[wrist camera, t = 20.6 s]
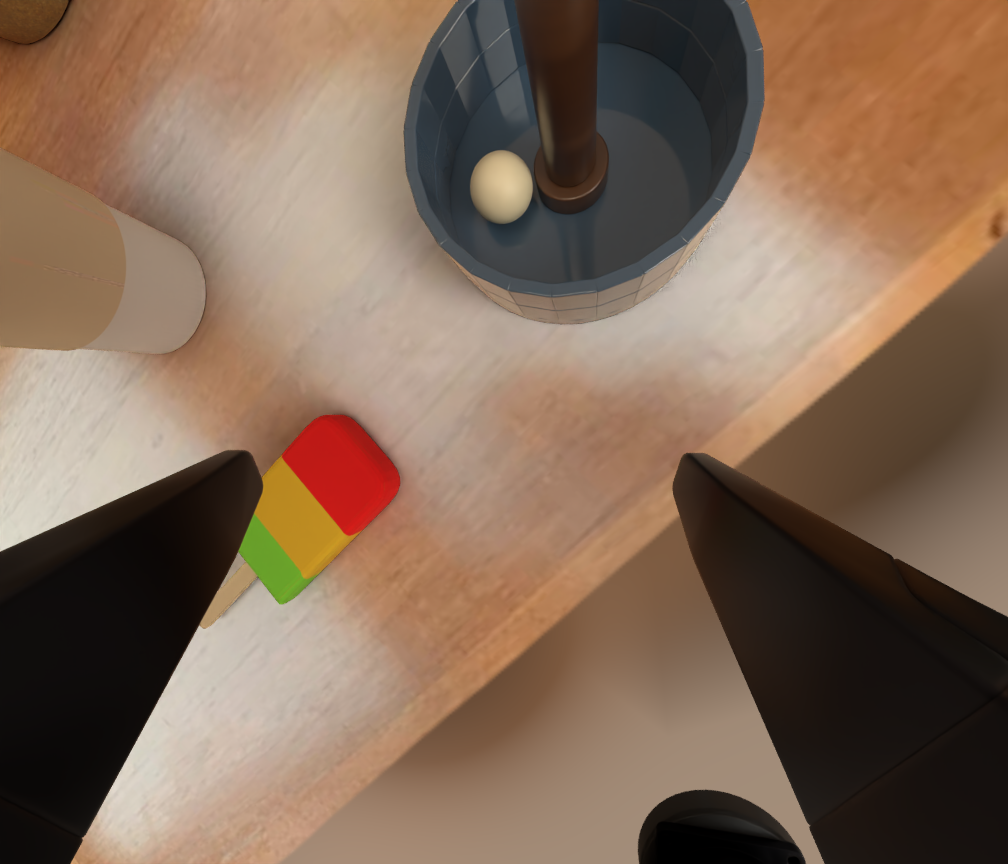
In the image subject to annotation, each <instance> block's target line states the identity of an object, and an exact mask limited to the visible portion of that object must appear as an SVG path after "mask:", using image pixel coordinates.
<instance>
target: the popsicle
mask: <svg viewBox="0 0 1008 864" xmlns="http://www.w3.org/2000/svg"><path fill="white" fill-rule="evenodd" d="M262 481H263V492H262V495H261V498H260V500H259V502H258V505H257V507H256V510H255V512H254V515H253V517H252V520H251V522H250V524H249V527H248V529H247V532H246V534H245V537H244V539H243V542H242V544H241V546H240V549H239V551H238V552H239V553H240V555H241V556H242V557H243V558H244V560H245V561H246V562H245V563H244V564H243V565H242V566H241V568H240V569H239V570H238V571H237V572H236V573H235V574H234V575H233V576H232V577H231V578H230V579H229V580H228V582H227V583H226V584H225V585H224V586H223V587H222V588H221V589H220V590H219V591H218V592H217V593H216V595H215V597H214V599H213V601H212V603H211V604H210V606H209V608H208V610H207V612H206V614H205V615H204V617H203V619H202V621H201V623H200V626H201V627H202V628H204V629H205V628H208V627H209V626H211V625H212V624H213V623H214V622H215V621H216V620H217V619H218V618H219V617H220V616H221V615H222V614H223V613H224V612H225V611H226V610H227V608H228V607H229V606H230V605H231V604H232V603H233V602H234V601H235V600H236V599H237V598H238V597H239V596H240V595H241V594H242V593H243V592H244V591H245V590H246V588H247V587H248V586H249V585H250V584H251V583H252V582H253V581H254V580H255V579H256V578H257V577H258V578H259V579H260V580H261V581H262V583H263V584H264V585H265V587H266V588H267V589H268V590H269V592H270V593H271V594H272V596H273V597H274V598H275V599H276V601H277V602H278V603H279V604H285V603H287V602H288V601H290V600H292V599H293V598H295V597H296V596H297V595H298V594H299V593H300V592H301V591H302V590H303V589H304V588H305V587H306V586H307V585H308V584H309V583H310V582H311V581H312V580H313V579H314V578H315V577H316V576H317V575H318V574H319V573H320V572H321V571H322V570H323V569H324V568H325V567H326V566H327V565H328V564H329V563H330V562H331V561H332V560H333V559H334V558H335V557H336V556H337V555H338V554H339V553H340V552H341V551H342V550H343V549H344V548H345V547H346V546H347V545H348V544H349V543H350V542H351V541H352V540H353V539H354V538H355V537H356V536H357V535H358V534H359V533H360V532H361V531H362V530H363V529H364V528H365V527H366V526H367V525H368V524H369V523H370V522H371V521H372V520H373V519H374V518H375V517H376V516H377V515H378V514H379V513H380V512H381V511H382V510H383V509H384V508H385V507H386V506H387V505H388V504H389V503H390V502H391V500H392V499H393V498H394V497H395V495H396V494H397V491H398V489H399V486H400V477H399V474H398V471H397V469H396V468H395V466H394V465H393V463H392V462H391V461H390V460H389V458H388V457H387V456H386V455H385V454H384V453H383V452H382V450H381V449H380V448H379V447H378V446H377V445H376V444H375V442H374V441H373V440H372V439H371V438H370V437H369V436H368V434H367V433H366V432H365V431H364V430H363V429H362V428H361V426H359V425H358V424H357V423H356V422H355V421H354V420H353V419H351V418H349V417H347V416H345V415H323V416H320V417H318V418H316V419H315V420H313V421H312V422H311V423H310V424H309V425H308V426H307V427H306V428H305V429H304V430H303V431H302V432H301V433H300V435H299V436H298V437H297V438H296V439H295V440H294V441H293V443H292V444H291V445H290V446H289V447H288V448H287V449H286V450H285V452H284V453H283V454H282V455H281V456H280V457H279V458H278V459H277V461H276V462H275V463H274V464H273V465H272V466H271V467H270V469H269V470H268V471H267V472H266V473H265V474H264V475H263V476H262Z"/></svg>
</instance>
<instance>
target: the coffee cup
mask: <svg viewBox="0 0 1008 864" xmlns="http://www.w3.org/2000/svg"><path fill="white" fill-rule="evenodd" d="M205 300H206V286H205V279H204V274H203V271H202V268H201V265H200V263H199V261H198V259H197V258H196V256H195V255H194V253H193V252H192V251H191V250H190V249H189V248H188V247H187V246H186V245H185V244H184V243H182V242H181V241H179V240H177V239H175V238H173V237H171V236H169V235H167V234H165V233H163V232H161V231H159V230H157V229H155V228H153V227H151V226H149V225H147V224H145V223H143V222H141V221H139V220H137V219H135V218H133V217H131V216H129V215H127V214H125V213H123V212H120V211H118V210H116V209H114V208H112V207H110V206H108V205H106V204H104V203H103V202H102V201H101V200H100V199H98V198H97V197H96V196H94V195H93V194H91V193H89V192H87V191H85V190H83V189H81V188H79V187H77V186H75V185H73V184H71V183H69V182H67V181H65V180H63V179H61V178H59V177H57V176H55V175H53V174H51V173H49V172H48V171H46V170H44V169H42V168H40V167H38V166H36V165H34V164H32V163H30V162H28V161H26V160H24V159H22V158H20V157H18V156H16V155H14V154H12V153H10V152H8V151H6V150H4V149H2V148H0V347H11V348H28V349H46V350H63V351H68V350H75V349H88V350H103V351H117V352H132V353H146V354H165V353H169V352H172V351H174V350H176V349H178V348H180V347H181V346H182V345H184V344H185V343H186V342H187V341H188V340H189V339H190V338H191V336H192V335H193V334H194V332H195V331H196V329H197V327H198V325H199V323H200V321H201V318H202V315H203V312H204V307H205Z"/></svg>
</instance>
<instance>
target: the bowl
mask: <svg viewBox="0 0 1008 864" xmlns="http://www.w3.org/2000/svg"><path fill="white" fill-rule="evenodd" d="M763 107H764V58H763V46H762V43H761V40H760V37H759V34H758V31H757V28H756V25H755V22H754V19H753V16H752V13H751V10H750V7H749V4H748V2H746V0H599V12H598V69H597V127H596V131H597V132H598V133H599V134H600V135H601V136H602V138H603V139H604V141H605V143H606V145H607V148H608V152H609V164H608V178H607V183H606V186H605V189H604V191H603V193H602V194H601V196H600V197H599V199H598V200H597V201H596V202H595V203H594V204H593V205H592V206H590V207H589V208H587V209H586V210H584V211H582V212H579V213H575V214H561V213H557V212H555V211H553V210H551V209H550V208H548V207H547V206H546V205H545V204H544V203H543V201H542V200H541V198H540V196H539V193H538V189H537V185H536V181H535V177H534V160H535V157H536V154H537V151H538V149H539V147H540V145H541V141H540V136H539V131H538V125H537V120H536V115H535V109H534V104H533V99H532V93H531V88H530V83H529V77H528V72H527V67H526V61H525V56H524V51H523V45H522V40H521V35H520V29H519V24H518V18H517V13H516V8H515V2H514V0H458V2H455V4H454V5H453V7H452V8H451V10H450V11H449V13H448V14H447V16H446V17H445V19H444V20H443V22H442V23H441V24H440V26H439V27H438V29H437V30H436V32H435V33H434V35H433V36H432V38H431V39H430V42H429V43H428V45H427V48H426V50H425V53H424V55H423V57H422V60H421V62H420V65H419V67H418V70H417V72H416V75H415V77H414V79H413V82H412V86H411V89H410V95H409V101H408V107H407V112H406V118H405V124H404V147H405V165H406V175H407V178H408V181H409V185H410V188H411V191H412V194H413V197H414V201H415V204H416V207H417V210H418V212H419V215H420V216H421V218H422V220H423V221H424V223H425V224H426V226H427V227H428V229H429V230H430V232H431V234H432V235H433V237H434V238H435V240H436V241H437V243H438V245H439V246H440V247H441V248H442V250H443V251H444V252H445V253H446V254H447V255H448V256H449V257H450V258H451V259H452V261H453V262H454V263H455V264H456V265H457V266H458V267H459V268H460V269H461V270H462V272H463V273H464V274H465V275H466V276H467V277H468V278H469V279H470V280H471V281H472V282H473V283H474V284H475V285H476V286H477V287H479V288H480V290H481V291H482V292H483V293H484V294H485V295H486V296H488V297H489V298H490V299H492V300H493V301H494V302H496V303H497V304H498V305H500V306H502V307H503V308H505V309H507V310H509V311H511V312H512V313H515V314H517V315H520V316H522V317H525V318H528V319H532V320H536V321H540V322H544V323H554V324H579V323H585V322H591V321H597V320H600V319H603V318H607V317H610V316H614V315H616V314H618V313H620V312H623V311H625V310H627V309H630V308H632V307H633V306H635V305H637V304H638V303H640V302H642V301H644V300H645V299H647V298H648V297H650V296H651V295H652V294H654V293H655V292H656V291H657V290H659V289H660V288H661V287H663V286H664V285H665V284H666V283H667V282H668V281H669V280H670V279H671V278H672V277H673V276H674V275H675V274H676V273H677V272H678V271H679V270H680V268H681V267H682V266H683V265H684V263H685V262H686V261H687V260H688V258H689V257H690V256H691V255H692V253H693V252H694V251H695V250H696V248H697V247H698V245H699V244H700V242H701V240H702V239H703V237H704V236H705V234H706V233H707V231H708V229H709V228H710V226H711V225H712V223H713V222H714V220H715V218H716V217H717V215H718V214H719V212H720V210H721V209H722V207H723V206H724V204H725V203H726V201H727V199H728V197H729V195H730V193H731V192H732V190H733V188H734V186H735V184H736V182H737V181H738V179H739V177H740V175H741V173H742V171H743V170H744V168H745V166H746V164H747V162H748V160H749V158H750V155H751V154H752V150H753V146H754V142H755V138H756V134H757V130H758V126H759V122H760V118H761V114H762V110H763ZM498 150H505V151H509V152H512V153H514V154H516V155H517V156H519V157H520V158H521V159H522V160H523V161H524V162H525V164H526V165H527V167H528V168H529V171H530V173H531V177H532V182H533V192H532V198H531V201H530V204H529V206H528V208H527V209H526V211H525V212H524V213H523V215H522V216H521V217H519V218H518V219H517V220H515V221H513V222H511V223H507V224H496V223H493V222H490V221H488V220H487V219H485V218H484V217H483V216H482V215H480V213H479V212H478V211H477V209H476V208H475V206H474V204H473V201H472V198H471V193H470V181H471V176H472V173H473V170H474V168H475V166H476V165H477V163H478V162H479V161H480V160H481V159H482V158H483V157H484V156H485V155H487V154H489V153H491V152H493V151H498Z"/></svg>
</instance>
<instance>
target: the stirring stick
mask: <svg viewBox="0 0 1008 864" xmlns="http://www.w3.org/2000/svg"><path fill="white" fill-rule="evenodd" d="M514 2H515V8H516V13H517V18H518V24H519V29H520V35H521V40H522V45H523V51H524V56H525V61H526V67H527V72H528V77H529V83H530V88H531V93H532V99H533V104H534V109H535V115H536V120H537V125H538V131H539V136H540V141H541V145H540V147H539V149H538V151H537V154H536V157H535V160H534V177H535V181H536V185H537V189H538V193H539V196H540V198H541V200H542V201H543V203H544V204H545V205H546V206H547V207H548V208H550V209H551V210H553V211H555V212H557V213H561V214H575V213H579V212H582V211H584V210H586V209H587V208H589V207H590V206H592V205H593V204H594V203H595V202H596V201H597V200H598V199H599V197H600V196H601V194H602V193H603V191H604V189H605V186H606V183H607V178H608V164H609V152H608V148H607V145H606V143H605V141H604V139H603V138H602V136H601V135H600V134H599V133H598V132H597V131H596V127H597V69H598V12H599V0H514Z"/></svg>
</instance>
